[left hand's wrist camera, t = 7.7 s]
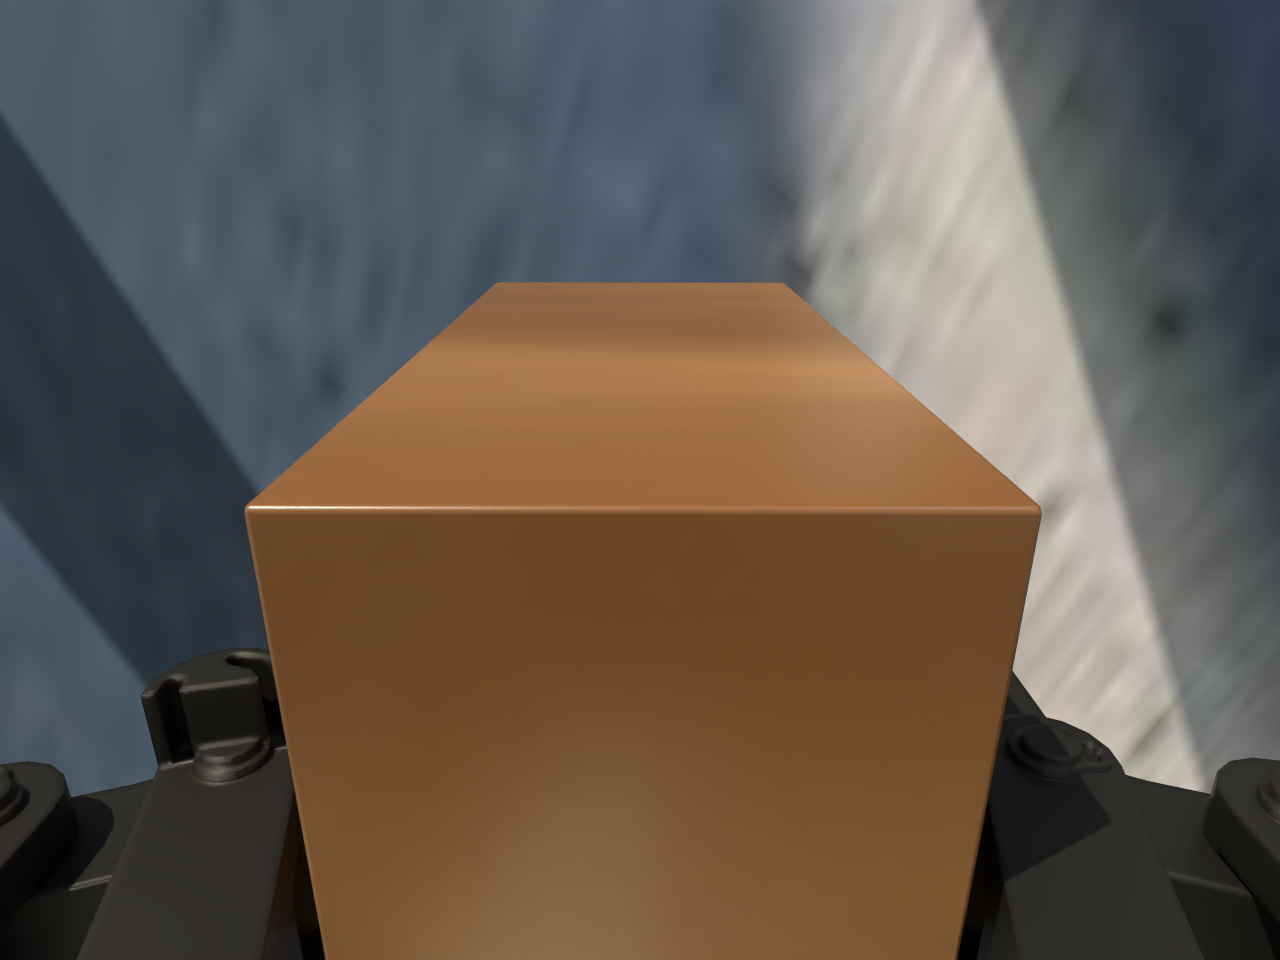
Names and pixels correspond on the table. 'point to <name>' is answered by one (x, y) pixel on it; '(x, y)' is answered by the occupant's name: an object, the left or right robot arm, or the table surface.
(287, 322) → the table surface
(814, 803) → the bar
